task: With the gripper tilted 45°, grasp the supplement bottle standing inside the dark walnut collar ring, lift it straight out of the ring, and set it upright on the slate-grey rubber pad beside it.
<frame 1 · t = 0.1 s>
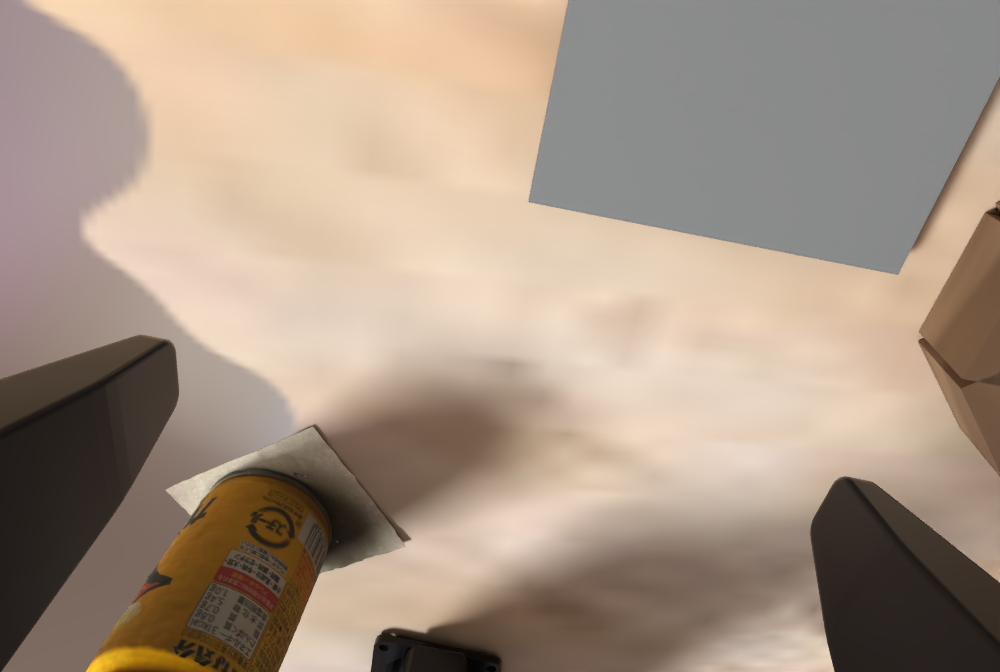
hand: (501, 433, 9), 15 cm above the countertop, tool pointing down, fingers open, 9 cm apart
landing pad: (774, 32, 19), on the countertop
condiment: (289, 510, 31), on the countertop
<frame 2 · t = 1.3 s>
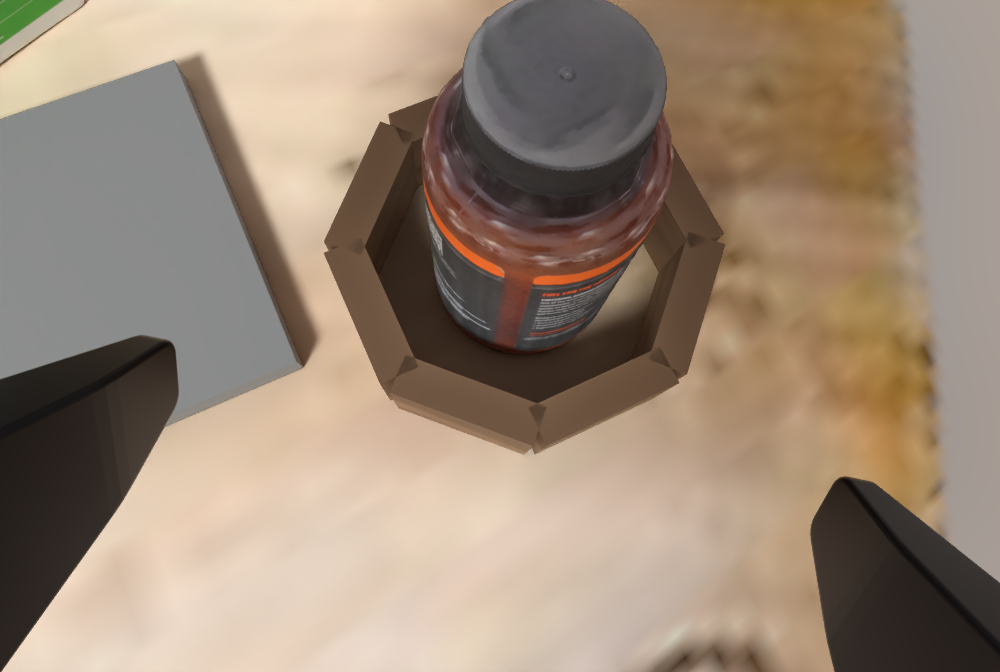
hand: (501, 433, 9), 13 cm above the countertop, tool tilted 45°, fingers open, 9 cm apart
supplement bottle: (519, 277, 24), resting in collar ring
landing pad: (69, 280, 23), on the countertop
collar ring: (519, 275, 24), on the countertop
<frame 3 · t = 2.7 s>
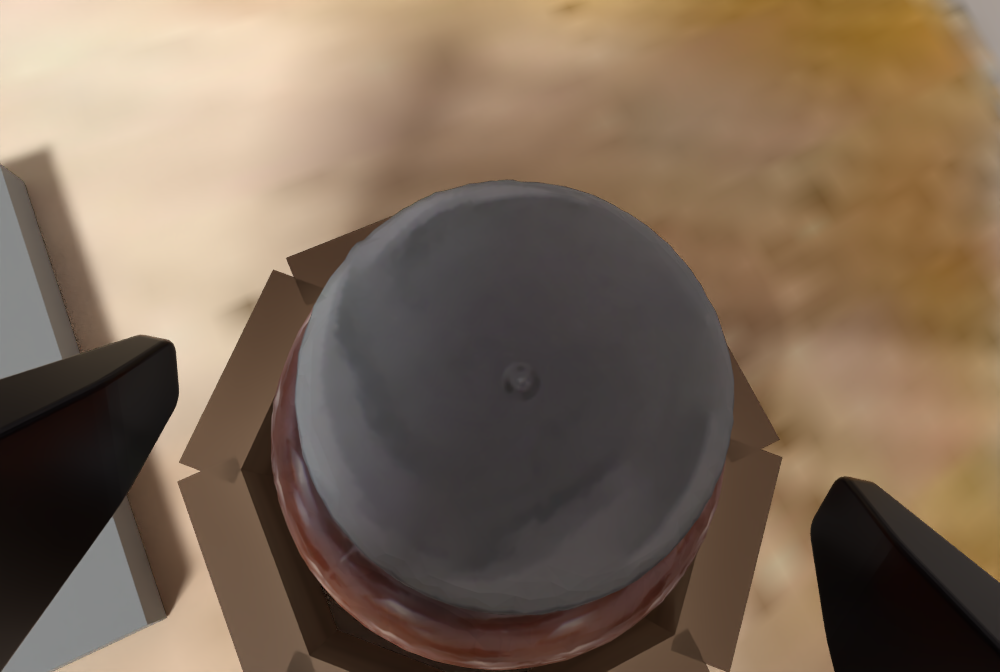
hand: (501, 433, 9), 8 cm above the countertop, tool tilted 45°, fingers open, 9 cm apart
supplement bottle: (483, 470, 17), resting in collar ring
collar ring: (483, 469, 17), on the countertop
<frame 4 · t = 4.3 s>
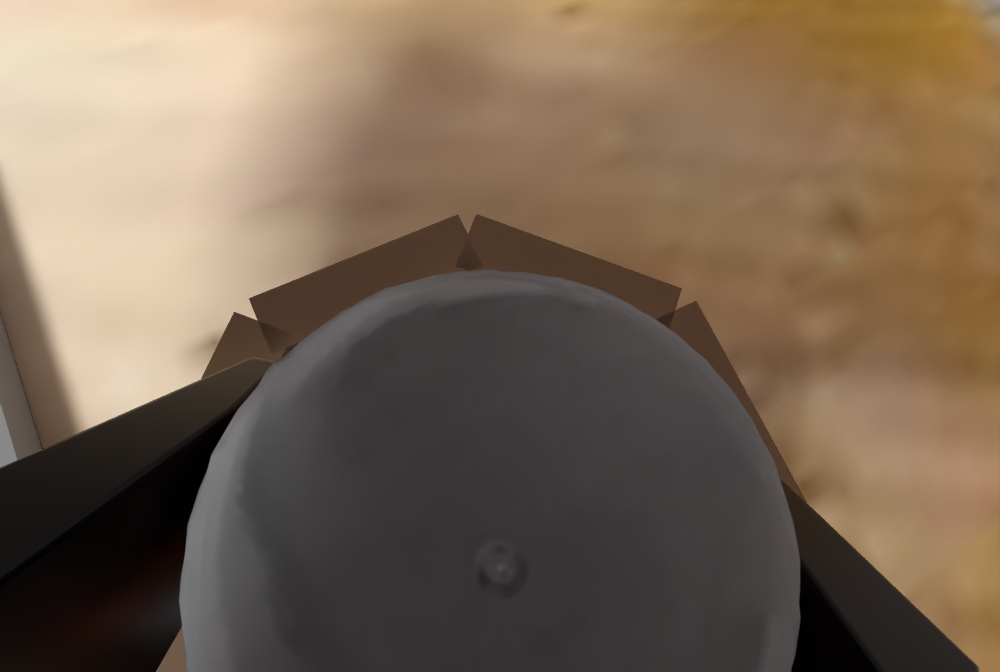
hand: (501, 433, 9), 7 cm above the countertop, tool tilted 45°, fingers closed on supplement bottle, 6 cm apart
supplement bottle: (474, 527, 15), resting in collar ring, touching gripper
collar ring: (474, 527, 15), on the countertop
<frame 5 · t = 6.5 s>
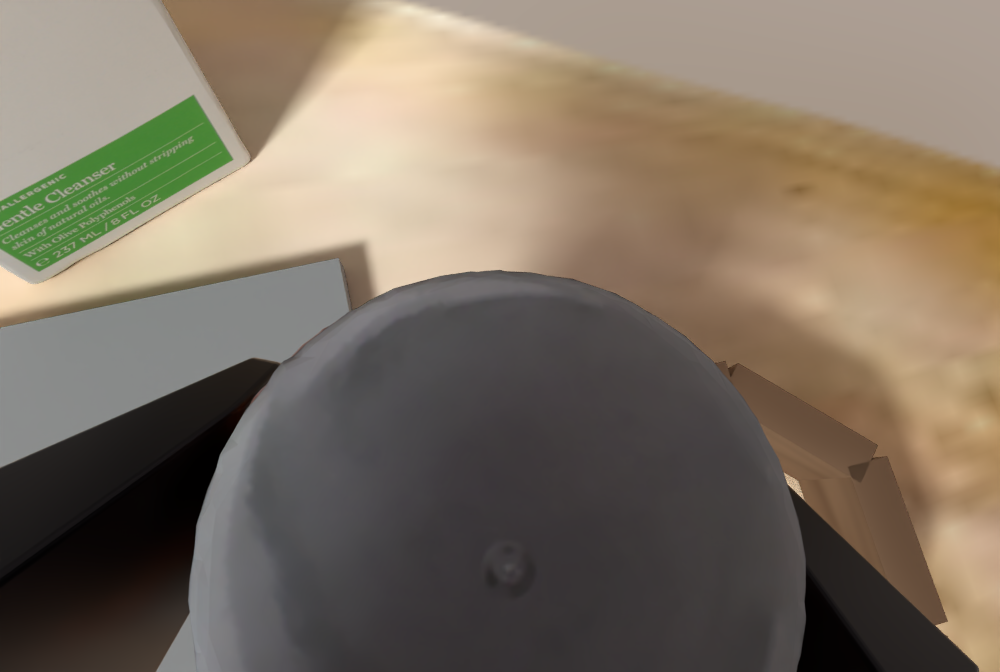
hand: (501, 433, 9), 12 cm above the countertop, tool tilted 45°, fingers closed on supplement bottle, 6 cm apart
supplement bottle: (474, 525, 15), point 5 cm above the countertop, touching gripper
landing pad: (182, 494, 20), on the countertop
collar ring: (679, 579, 21), on the countertop
skincare box: (108, 150, 23), on the countertop
when the fingers open (8 cm above the countertop, at t = 9.0 s): supplement bottle stays where it is, resting on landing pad.
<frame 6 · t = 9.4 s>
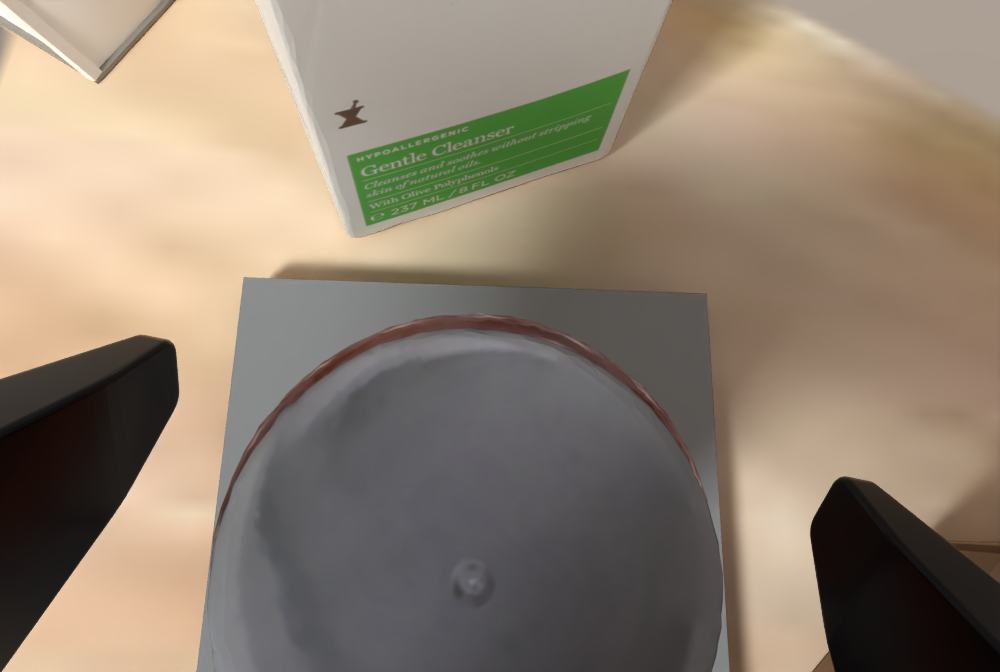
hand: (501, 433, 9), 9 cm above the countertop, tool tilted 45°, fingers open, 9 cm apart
supplement bottle: (466, 533, 16), point 1 cm above the countertop, touching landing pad
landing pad: (471, 524, 17), on the countertop
skincare box: (449, 106, 20), on the countertop
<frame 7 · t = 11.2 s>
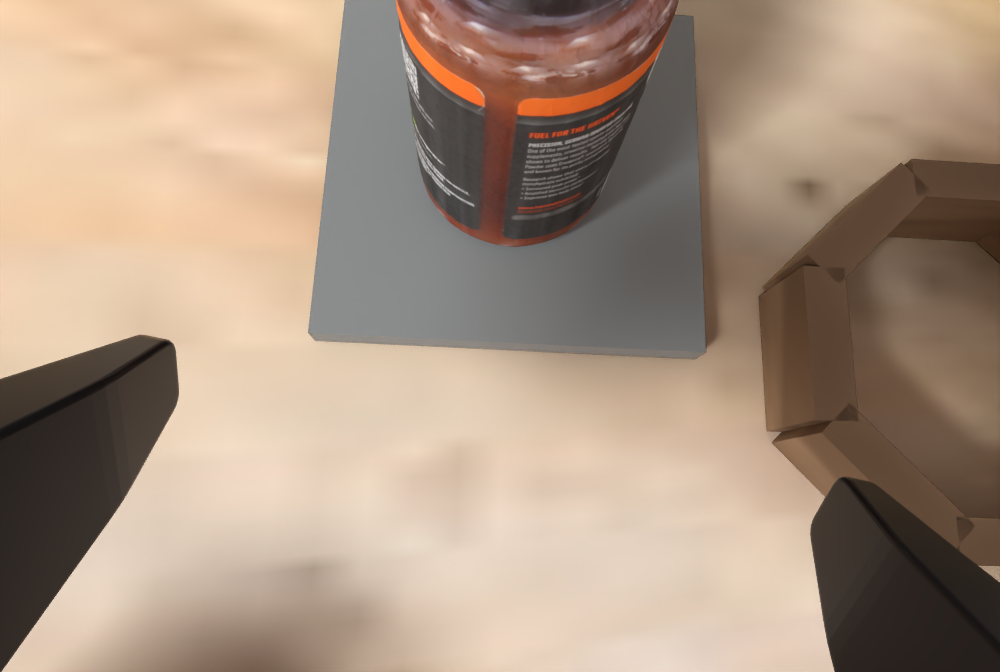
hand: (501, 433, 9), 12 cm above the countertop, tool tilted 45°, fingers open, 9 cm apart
supplement bottle: (511, 169, 22), point 1 cm above the countertop, touching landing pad
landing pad: (513, 176, 23), on the countertop
collar ring: (938, 371, 22), on the countertop
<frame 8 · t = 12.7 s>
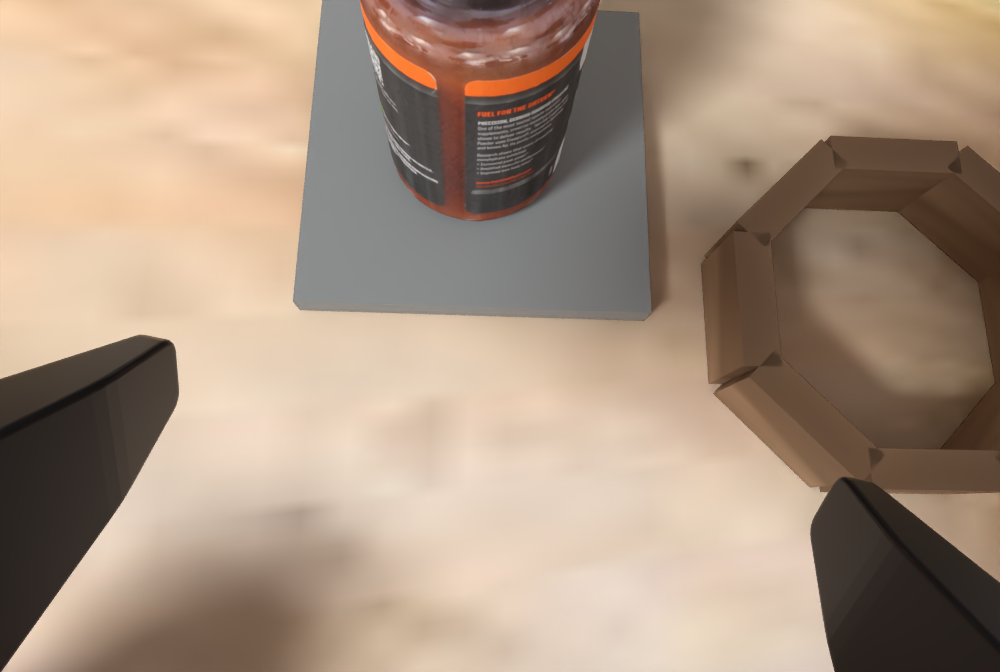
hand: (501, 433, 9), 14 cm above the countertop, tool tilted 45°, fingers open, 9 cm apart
supplement bottle: (475, 153, 24), point 1 cm above the countertop, touching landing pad
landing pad: (478, 160, 25), on the countertop
collar ring: (863, 327, 24), on the countertop
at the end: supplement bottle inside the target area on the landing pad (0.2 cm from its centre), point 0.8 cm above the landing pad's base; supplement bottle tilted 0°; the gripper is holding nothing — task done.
